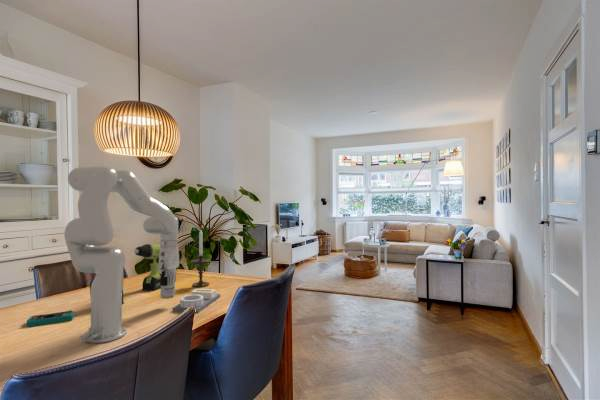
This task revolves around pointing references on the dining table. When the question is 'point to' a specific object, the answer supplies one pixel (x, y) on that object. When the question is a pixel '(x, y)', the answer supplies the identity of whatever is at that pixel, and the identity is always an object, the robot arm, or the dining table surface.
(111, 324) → the robot arm
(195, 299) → the socket board
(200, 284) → the candlestick
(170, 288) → the energy drink can
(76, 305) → the dining table surface
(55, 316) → the digital multimeter
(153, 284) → the cordless drill
